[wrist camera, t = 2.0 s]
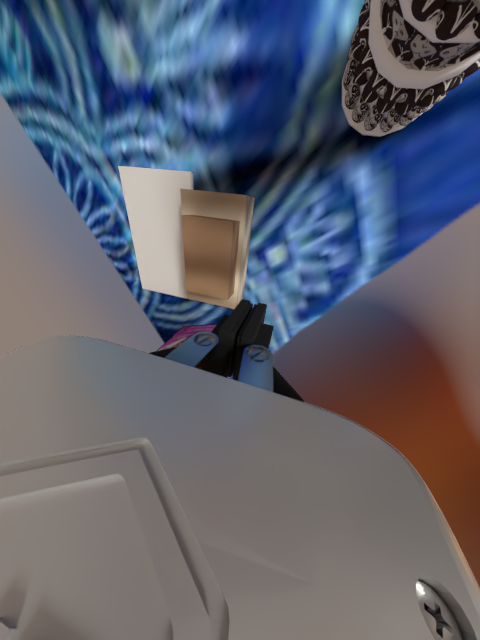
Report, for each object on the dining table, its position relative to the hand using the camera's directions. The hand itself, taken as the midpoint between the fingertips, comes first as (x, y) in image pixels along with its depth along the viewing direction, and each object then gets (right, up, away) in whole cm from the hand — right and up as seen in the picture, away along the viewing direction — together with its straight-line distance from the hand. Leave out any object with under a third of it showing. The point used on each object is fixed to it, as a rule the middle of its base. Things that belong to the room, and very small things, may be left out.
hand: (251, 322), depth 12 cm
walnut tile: (-4, +8, +12) cm, 15 cm away
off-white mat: (-13, +13, +17) cm, 25 cm away
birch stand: (-3, +10, +15) cm, 19 cm away
